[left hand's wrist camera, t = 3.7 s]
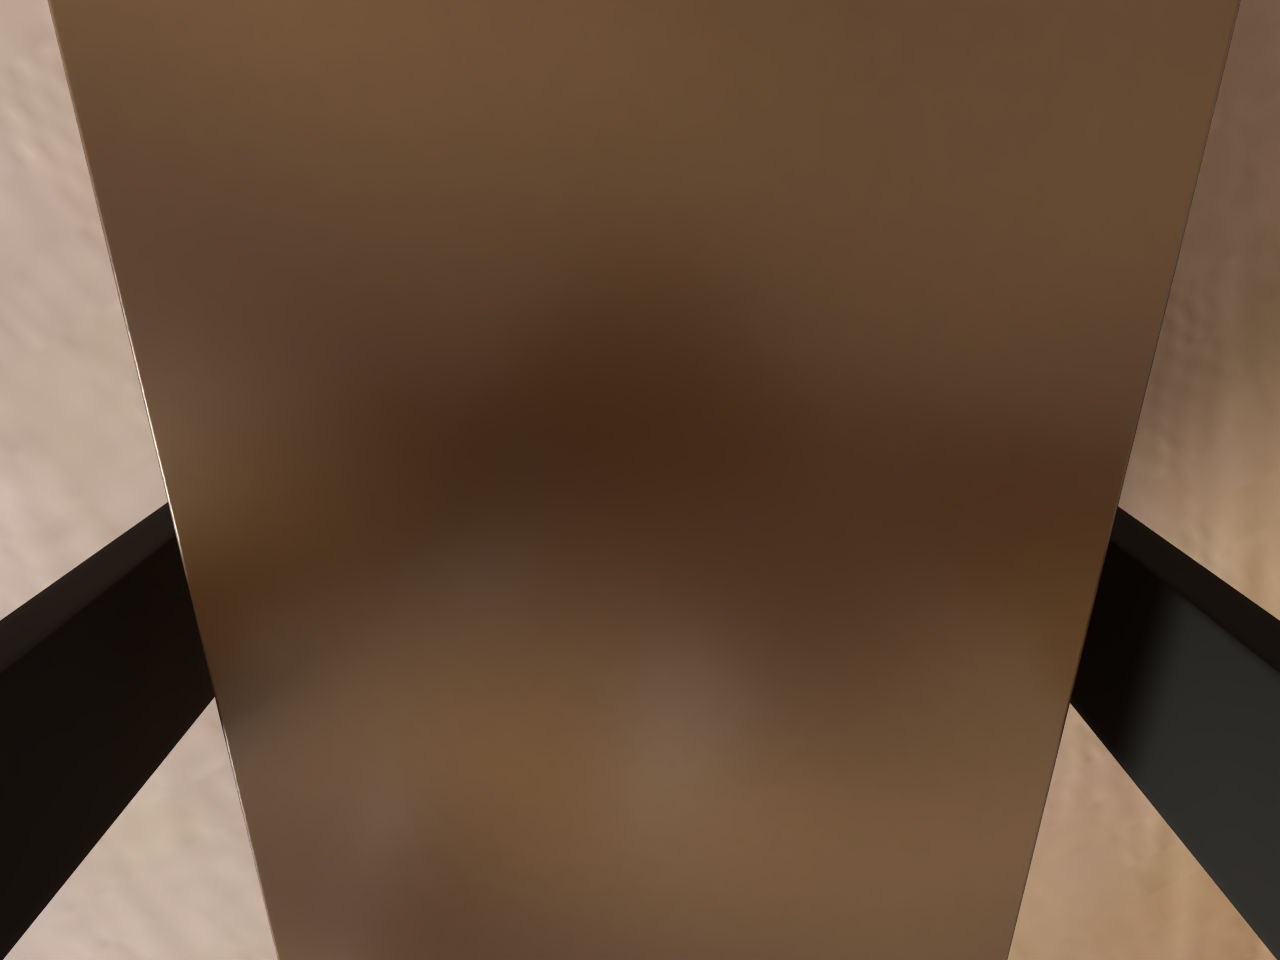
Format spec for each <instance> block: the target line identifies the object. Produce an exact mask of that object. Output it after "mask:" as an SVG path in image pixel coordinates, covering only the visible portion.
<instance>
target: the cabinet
mask: <svg viewBox="0 0 1280 960" xmlns="http://www.w3.org/2000/svg"><path fill="white" fill-rule="evenodd" d="M1240 1H1241V0H48V3H49V7H50V12H51V16H52V20H53V24H54V28H55V32H56V37H57V41H58V45H59V49H60V53H61V57H62V62H63V66H64V70H65V74H66V78H67V82H68V87H69V91H70V95H71V99H72V103H73V107H74V112H75V116H76V120H77V124H78V128H79V133H80V137H81V141H82V145H83V149H84V153H85V158H86V162H87V166H88V170H89V174H90V178H91V183H92V187H93V191H94V195H95V199H96V203H97V208H98V212H99V216H100V220H101V224H102V228H103V233H104V237H105V241H106V245H107V249H108V253H109V258H110V262H111V266H112V270H113V274H114V278H115V283H116V287H117V291H118V295H119V299H120V303H121V308H122V312H123V316H124V320H125V324H126V328H127V333H128V337H129V341H130V345H131V349H132V353H133V358H134V362H135V366H136V370H137V374H138V378H139V383H140V387H141V391H142V395H143V399H144V403H145V408H146V412H147V416H148V420H149V424H150V428H151V433H152V437H153V441H154V445H155V449H156V454H157V458H158V462H159V466H160V470H161V474H162V479H163V483H164V487H165V491H166V495H167V499H168V504H169V508H170V512H171V516H172V520H173V524H174V529H175V533H176V537H177V541H178V545H179V549H180V554H181V558H182V562H183V566H184V570H185V574H186V579H187V583H188V587H189V591H190V595H191V599H192V604H193V608H194V612H195V616H196V620H197V624H198V629H199V633H200V637H201V641H202V645H203V649H204V654H205V658H206V662H207V666H208V670H209V674H210V679H211V683H212V687H213V691H214V695H215V699H216V704H217V708H218V712H219V716H220V720H221V724H222V729H223V733H224V737H225V741H226V745H227V749H228V754H229V758H230V762H231V766H232V770H233V775H234V779H235V783H236V787H237V791H238V795H239V800H240V804H241V808H242V812H243V816H244V820H245V825H246V829H247V833H248V837H249V841H250V845H251V850H252V854H253V858H254V862H255V866H256V870H257V875H258V879H259V883H260V887H261V891H262V895H263V900H264V904H265V908H266V912H267V916H268V920H269V925H270V929H271V933H272V937H273V941H274V945H275V950H276V954H277V958H278V960H1007V959H1008V955H1009V951H1010V947H1011V943H1012V938H1013V934H1014V930H1015V926H1016V922H1017V918H1018V914H1019V910H1020V906H1021V901H1022V897H1023V893H1024V889H1025V885H1026V881H1027V877H1028V873H1029V869H1030V864H1031V860H1032V856H1033V852H1034V848H1035V844H1036V840H1037V836H1038V832H1039V827H1040V823H1041V819H1042V815H1043V811H1044V807H1045V803H1046V799H1047V795H1048V790H1049V786H1050V782H1051V778H1052V774H1053V770H1054V766H1055V762H1056V758H1057V753H1058V749H1059V745H1060V741H1061V737H1062V733H1063V729H1064V725H1065V721H1066V716H1067V712H1068V708H1069V704H1070V700H1071V696H1072V692H1073V688H1074V684H1075V679H1076V675H1077V671H1078V667H1079V663H1080V659H1081V655H1082V651H1083V647H1084V642H1085V638H1086V634H1087V630H1088V626H1089V622H1090V618H1091V614H1092V610H1093V605H1094V601H1095V597H1096V593H1097V589H1098V585H1099V581H1100V577H1101V573H1102V569H1103V564H1104V560H1105V556H1106V552H1107V548H1108V544H1109V540H1110V536H1111V532H1112V527H1113V523H1114V519H1115V515H1116V511H1117V507H1118V503H1119V499H1120V495H1121V490H1122V486H1123V482H1124V478H1125V474H1126V470H1127V466H1128V462H1129V458H1130V453H1131V449H1132V445H1133V441H1134V437H1135V433H1136V429H1137V425H1138V421H1139V416H1140V412H1141V408H1142V404H1143V400H1144V396H1145V392H1146V388H1147V384H1148V379H1149V375H1150V371H1151V367H1152V363H1153V359H1154V355H1155V351H1156V347H1157V342H1158V338H1159V334H1160V330H1161V326H1162V322H1163V318H1164V314H1165V310H1166V305H1167V301H1168V297H1169V293H1170V289H1171V285H1172V281H1173V277H1174V273H1175V268H1176V264H1177V260H1178V256H1179V252H1180V248H1181V244H1182V240H1183V236H1184V231H1185V227H1186V223H1187V219H1188V215H1189V211H1190V207H1191V203H1192V199H1193V194H1194V190H1195V186H1196V182H1197V178H1198V174H1199V170H1200V166H1201V162H1202V157H1203V153H1204V149H1205V145H1206V141H1207V137H1208V133H1209V129H1210V125H1211V120H1212V116H1213V112H1214V108H1215V104H1216V100H1217V96H1218V92H1219V88H1220V83H1221V79H1222V75H1223V71H1224V67H1225V63H1226V59H1227V55H1228V51H1229V46H1230V42H1231V38H1232V34H1233V30H1234V26H1235V22H1236V18H1237V14H1238V9H1239V5H1240Z"/></svg>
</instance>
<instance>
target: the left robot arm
mask: <svg viewBox="0 0 1280 960" xmlns="http://www.w3.org/2000/svg"><path fill="white" fill-rule="evenodd" d="M214 697H215V695H214V691H213V687H212V683H211V679H210V674H209V670H208V666H207V662H206V658H205V654H204V649H203V645H202V641H201V637H200V633H199V629H198V624H197V620H196V616H195V612H194V608H193V604H192V599H191V595H190V591H189V587H188V583H187V579H186V574H185V570H184V566H183V562H182V558H181V554H180V549H179V545H178V541H177V537H176V533H175V529H174V524H173V520H172V516H171V512H170V508H169V504H168V503H166V504H165V505H163V506H162V507H160V508H159V509H158V510H156V511H155V512H153V513H152V514H151V515H149V516H148V517H146V518H145V519H143V520H142V521H141V522H139V523H138V524H136V525H135V526H134V527H132V528H131V529H129V530H128V531H126V532H125V533H124V534H122V535H121V536H119V537H118V538H117V539H115V540H114V541H112V542H111V543H110V544H108V545H107V546H105V547H104V548H102V549H101V550H100V551H98V552H97V553H95V554H94V555H93V556H91V557H90V558H88V559H87V560H85V561H84V562H83V563H81V564H80V565H78V566H77V567H76V568H74V569H73V570H71V571H70V572H68V573H67V574H66V575H64V576H63V577H61V578H60V579H59V580H57V581H56V582H54V583H53V584H52V585H50V586H49V587H47V588H46V589H44V590H43V591H42V592H40V593H39V594H37V595H36V596H35V597H33V598H32V599H30V600H29V601H27V602H26V603H25V604H23V605H22V606H20V607H19V608H18V609H16V610H15V611H13V612H12V613H10V614H9V615H8V616H6V617H5V618H3V619H2V620H1V621H0V960H3V959H4V958H5V956H6V955H7V954H8V953H9V952H10V950H11V949H12V948H13V947H14V945H15V944H16V943H17V942H18V940H19V939H20V938H21V937H22V935H23V934H24V933H25V932H26V930H27V929H28V928H29V927H30V925H31V924H32V923H33V922H34V920H35V919H36V918H37V917H38V915H39V914H40V913H41V912H42V911H43V909H44V908H45V907H46V906H47V904H48V903H49V902H50V901H51V899H52V898H53V897H54V896H55V894H56V893H57V892H58V891H59V889H60V888H61V887H62V886H63V884H64V883H65V882H66V881H67V879H68V878H69V877H70V876H71V875H72V873H73V872H74V871H75V870H76V868H77V867H78V866H79V865H80V863H81V862H82V861H83V860H84V858H85V857H86V856H87V855H88V853H89V852H90V851H91V850H92V848H93V847H94V846H95V845H96V843H97V842H98V841H99V840H100V839H101V837H102V836H103V835H104V834H105V832H106V831H107V830H108V829H109V827H110V826H111V825H112V824H113V822H114V821H115V820H116V819H117V817H118V816H119V815H120V814H121V812H122V811H123V810H124V809H125V807H126V806H127V805H128V804H129V802H130V801H131V800H132V799H133V798H134V796H135V795H136V794H137V793H138V791H139V790H140V789H141V788H142V786H143V785H144V784H145V783H146V781H147V780H148V779H149V778H150V776H151V775H152V774H153V773H154V771H155V770H156V769H157V768H158V766H159V765H160V764H161V763H162V762H163V760H164V759H165V758H166V757H167V755H168V754H169V753H170V752H171V750H172V749H173V748H174V747H175V745H176V744H177V743H178V742H179V740H180V739H181V738H182V737H183V735H184V734H185V733H186V732H187V730H188V729H189V728H190V727H191V725H192V724H193V723H194V722H195V721H196V719H197V718H198V717H199V716H200V714H201V713H202V712H203V711H204V709H205V708H206V707H207V706H208V704H209V703H210V702H211V701H212V699H213V698H214ZM1070 703H1071V704H1072V706H1073V707H1074V708H1075V709H1076V711H1077V712H1078V713H1079V714H1080V716H1081V717H1082V718H1083V719H1084V721H1085V722H1086V723H1087V724H1088V725H1089V727H1090V728H1091V729H1092V730H1093V732H1094V733H1095V734H1096V735H1097V737H1098V738H1099V739H1100V740H1101V742H1102V743H1103V744H1104V745H1105V747H1106V748H1107V749H1108V750H1109V752H1110V753H1111V754H1112V755H1113V757H1114V758H1115V759H1116V760H1117V762H1118V763H1119V764H1120V765H1121V766H1122V768H1123V769H1124V770H1125V771H1126V773H1127V774H1128V775H1129V776H1130V778H1131V779H1132V780H1133V781H1134V783H1135V784H1136V785H1137V786H1138V788H1139V789H1140V790H1141V791H1142V793H1143V794H1144V795H1145V796H1146V798H1147V799H1148V800H1149V801H1150V802H1151V804H1152V805H1153V806H1154V807H1155V809H1156V810H1157V811H1158V812H1159V814H1160V815H1161V816H1162V817H1163V819H1164V820H1165V821H1166V822H1167V824H1168V825H1169V826H1170V827H1171V829H1172V830H1173V831H1174V832H1175V834H1176V835H1177V836H1178V837H1179V839H1180V840H1181V841H1182V842H1183V843H1184V845H1185V846H1186V847H1187V848H1188V850H1189V851H1190V852H1191V853H1192V855H1193V856H1194V857H1195V858H1196V860H1197V861H1198V862H1199V863H1200V865H1201V866H1202V867H1203V868H1204V870H1205V871H1206V872H1207V873H1208V875H1209V876H1210V877H1211V878H1212V879H1213V881H1214V882H1215V883H1216V884H1217V886H1218V887H1219V888H1220V889H1221V891H1222V892H1223V893H1224V894H1225V896H1226V897H1227V898H1228V899H1229V901H1230V902H1231V903H1232V904H1233V906H1234V907H1235V908H1236V909H1237V911H1238V912H1239V913H1240V914H1241V916H1242V917H1243V918H1244V919H1245V920H1246V922H1247V923H1248V924H1249V925H1250V927H1251V928H1252V929H1253V930H1254V932H1255V933H1256V934H1257V935H1258V937H1259V938H1260V939H1261V940H1262V942H1263V943H1264V944H1265V945H1266V947H1267V948H1268V949H1269V950H1270V952H1271V953H1272V954H1273V955H1274V956H1275V958H1276V959H1277V960H1280V621H1279V620H1278V619H1277V618H1275V617H1274V616H1272V615H1271V614H1270V613H1268V612H1267V611H1265V610H1264V609H1262V608H1261V607H1260V606H1258V605H1257V604H1255V603H1254V602H1253V601H1251V600H1250V599H1248V598H1247V597H1245V596H1244V595H1243V594H1241V593H1240V592H1238V591H1237V590H1236V589H1234V588H1233V587H1231V586H1230V585H1228V584H1227V583H1226V582H1224V581H1223V580H1221V579H1220V578H1219V577H1217V576H1216V575H1214V574H1213V573H1212V572H1210V571H1209V570H1207V569H1206V568H1204V567H1203V566H1202V565H1200V564H1199V563H1197V562H1196V561H1195V560H1193V559H1192V558H1190V557H1189V556H1187V555H1186V554H1185V553H1183V552H1182V551H1180V550H1179V549H1178V548H1176V547H1175V546H1173V545H1172V544H1170V543H1169V542H1168V541H1166V540H1165V539H1163V538H1162V537H1161V536H1159V535H1158V534H1156V533H1155V532H1154V531H1152V530H1151V529H1149V528H1148V527H1146V526H1145V525H1144V524H1142V523H1141V522H1139V521H1138V520H1137V519H1135V518H1134V517H1132V516H1131V515H1129V514H1128V513H1127V512H1125V511H1124V510H1122V509H1121V508H1120V507H1117V511H1116V515H1115V519H1114V523H1113V527H1112V532H1111V536H1110V540H1109V544H1108V548H1107V552H1106V556H1105V560H1104V564H1103V569H1102V573H1101V577H1100V581H1099V585H1098V589H1097V593H1096V597H1095V601H1094V605H1093V610H1092V614H1091V618H1090V622H1089V626H1088V630H1087V634H1086V638H1085V642H1084V647H1083V651H1082V655H1081V659H1080V663H1079V667H1078V671H1077V675H1076V679H1075V684H1074V688H1073V692H1072V696H1071V700H1070Z"/></svg>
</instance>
